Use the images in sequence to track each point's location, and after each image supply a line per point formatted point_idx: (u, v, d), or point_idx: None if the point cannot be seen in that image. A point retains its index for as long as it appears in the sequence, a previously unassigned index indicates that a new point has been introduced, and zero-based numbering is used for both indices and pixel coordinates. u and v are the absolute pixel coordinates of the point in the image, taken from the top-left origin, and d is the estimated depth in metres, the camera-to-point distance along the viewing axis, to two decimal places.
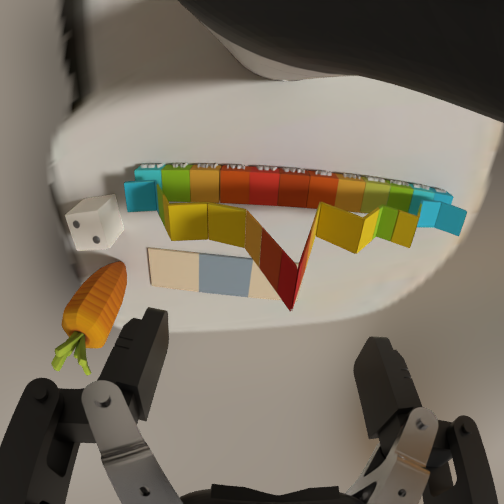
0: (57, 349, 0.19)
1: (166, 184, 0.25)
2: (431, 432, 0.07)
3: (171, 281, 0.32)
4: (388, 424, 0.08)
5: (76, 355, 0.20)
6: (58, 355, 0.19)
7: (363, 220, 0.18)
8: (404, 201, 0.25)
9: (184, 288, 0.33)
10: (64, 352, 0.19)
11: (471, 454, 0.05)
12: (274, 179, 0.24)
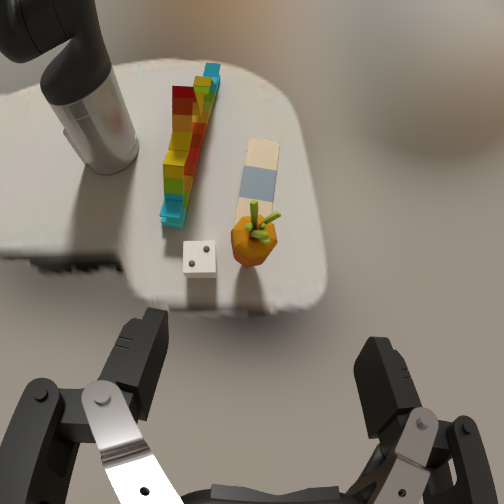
0: (245, 227, 0.27)
1: None
2: (431, 432, 0.07)
3: None
4: (388, 424, 0.08)
5: (262, 224, 0.28)
6: (249, 225, 0.27)
7: None
8: (205, 94, 0.46)
9: (269, 212, 0.43)
10: (249, 223, 0.27)
11: (471, 454, 0.05)
12: None
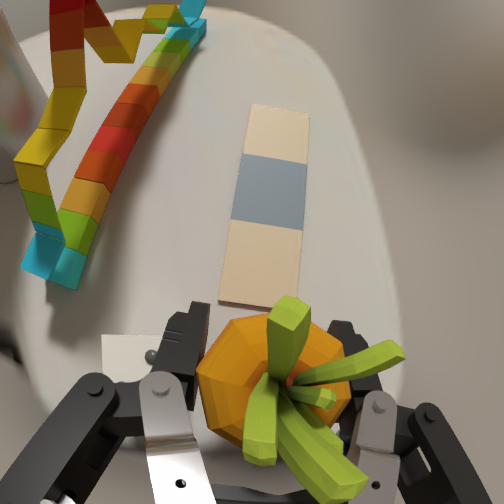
0: (243, 445, 0.04)
1: None
2: (388, 416, 0.07)
3: (283, 272, 0.20)
4: (346, 407, 0.09)
5: (319, 394, 0.06)
6: (265, 447, 0.04)
7: (116, 21, 0.15)
8: (172, 42, 0.23)
9: (297, 252, 0.20)
10: (265, 419, 0.05)
11: (441, 442, 0.06)
12: (104, 129, 0.20)
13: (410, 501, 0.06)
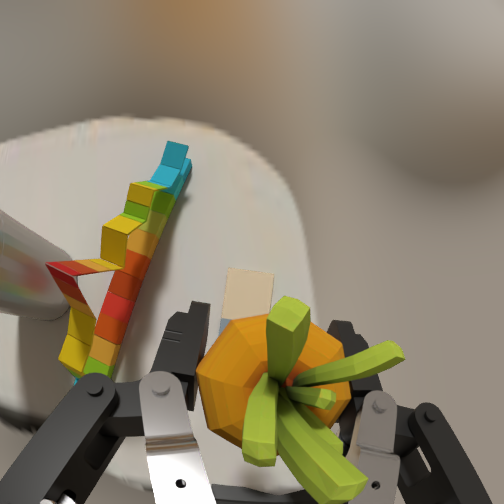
0: (242, 446, 0.04)
1: None
2: (387, 416, 0.07)
3: None
4: (346, 407, 0.09)
5: (318, 395, 0.06)
6: (264, 447, 0.04)
7: (103, 226, 0.24)
8: (158, 196, 0.32)
9: None
10: (264, 420, 0.05)
11: (441, 442, 0.06)
12: (110, 296, 0.29)
13: (410, 501, 0.06)
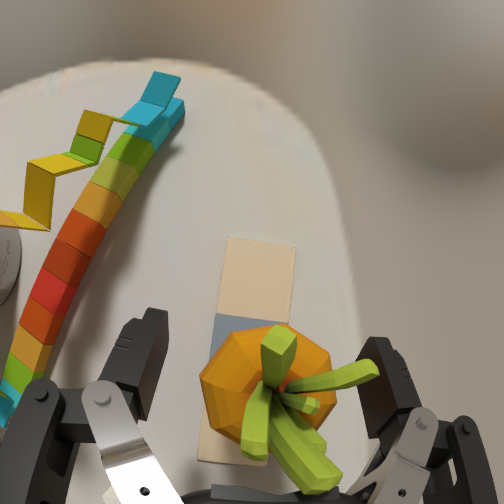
0: (241, 444, 0.05)
1: (13, 382, 0.15)
2: (431, 432, 0.07)
3: None
4: (388, 424, 0.08)
5: (305, 402, 0.07)
6: (258, 445, 0.05)
7: (29, 163, 0.13)
8: (130, 142, 0.21)
9: None
10: (259, 423, 0.06)
11: (471, 454, 0.05)
12: (44, 274, 0.18)
13: None
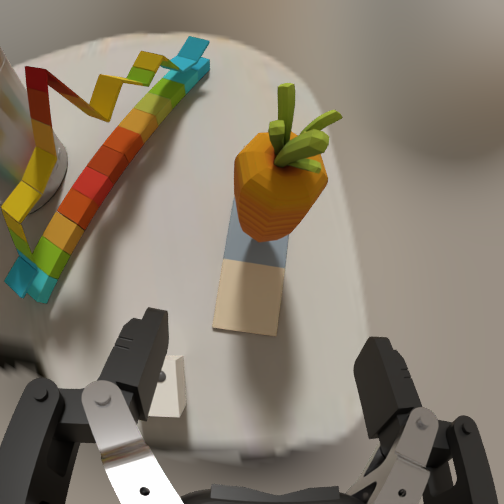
0: (269, 128, 0.11)
1: (39, 262, 0.21)
2: (431, 432, 0.07)
3: (267, 304, 0.23)
4: (388, 424, 0.08)
5: (303, 132, 0.12)
6: (279, 122, 0.11)
7: (100, 76, 0.18)
8: (168, 84, 0.27)
9: (279, 287, 0.24)
10: None
11: (471, 454, 0.05)
12: (87, 171, 0.23)
13: None
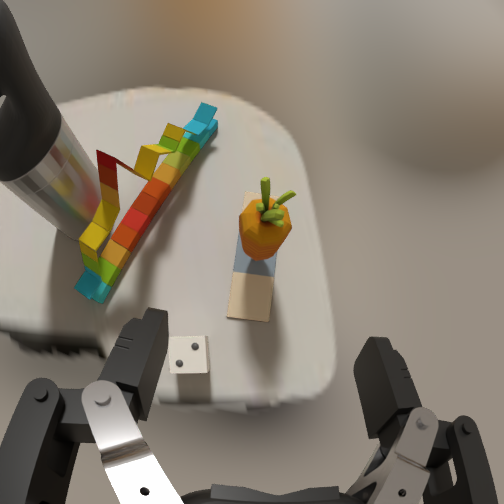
0: (256, 207, 0.23)
1: None
2: (431, 432, 0.07)
3: (262, 301, 0.35)
4: (388, 424, 0.08)
5: (274, 204, 0.25)
6: (260, 204, 0.23)
7: (142, 146, 0.31)
8: (187, 143, 0.40)
9: (270, 290, 0.36)
10: None
11: (471, 454, 0.05)
12: (132, 211, 0.36)
13: None
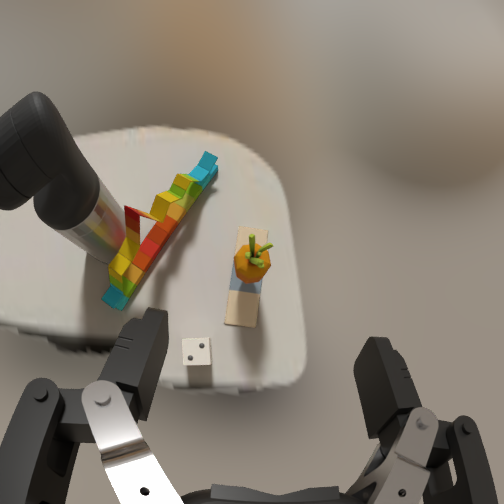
0: (245, 255, 0.35)
1: None
2: (431, 432, 0.07)
3: (251, 312, 0.47)
4: (388, 424, 0.08)
5: (258, 252, 0.36)
6: (248, 254, 0.35)
7: (156, 195, 0.42)
8: (192, 185, 0.51)
9: (257, 303, 0.48)
10: (248, 252, 0.35)
11: (471, 454, 0.05)
12: (147, 240, 0.47)
13: None
